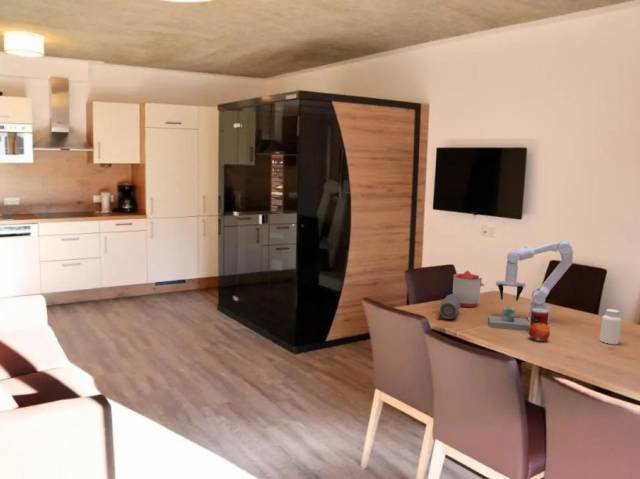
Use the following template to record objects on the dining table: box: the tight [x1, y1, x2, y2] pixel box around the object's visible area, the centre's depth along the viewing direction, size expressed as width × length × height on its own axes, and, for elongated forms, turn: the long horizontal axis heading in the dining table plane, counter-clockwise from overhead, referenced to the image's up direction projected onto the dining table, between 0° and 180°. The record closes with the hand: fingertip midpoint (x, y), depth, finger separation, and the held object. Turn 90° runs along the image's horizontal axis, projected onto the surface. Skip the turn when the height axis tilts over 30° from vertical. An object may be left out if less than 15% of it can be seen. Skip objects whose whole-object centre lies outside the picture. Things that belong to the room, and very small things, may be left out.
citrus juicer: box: [452, 270, 485, 308], centre depth 319 cm, size 16×17×20 cm
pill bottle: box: [599, 308, 623, 345], centre depth 257 cm, size 8×8×15 cm
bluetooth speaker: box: [439, 293, 461, 320], centre depth 294 cm, size 23×9×10 cm, turn 161°
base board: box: [487, 315, 530, 332], centre depth 280 cm, size 18×13×2 cm
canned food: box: [529, 308, 549, 327], centre depth 269 cm, size 8×8×11 cm
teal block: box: [501, 306, 516, 322], centre depth 280 cm, size 5×5×6 cm
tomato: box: [528, 323, 551, 342], centre depth 257 cm, size 9×9×8 cm
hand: (509, 299), depth 295 cm, fingers open, 7 cm apart
